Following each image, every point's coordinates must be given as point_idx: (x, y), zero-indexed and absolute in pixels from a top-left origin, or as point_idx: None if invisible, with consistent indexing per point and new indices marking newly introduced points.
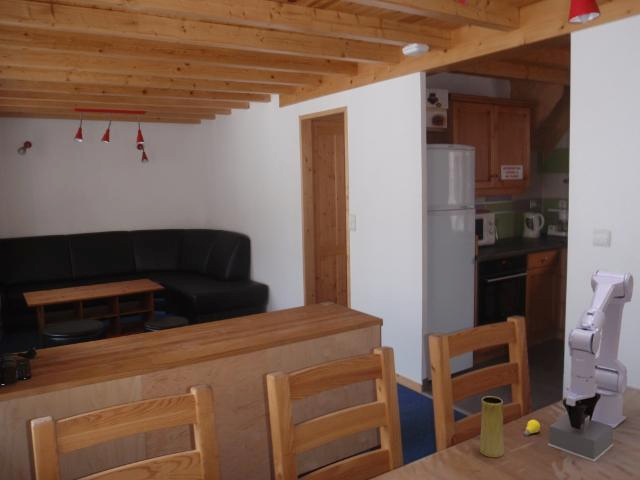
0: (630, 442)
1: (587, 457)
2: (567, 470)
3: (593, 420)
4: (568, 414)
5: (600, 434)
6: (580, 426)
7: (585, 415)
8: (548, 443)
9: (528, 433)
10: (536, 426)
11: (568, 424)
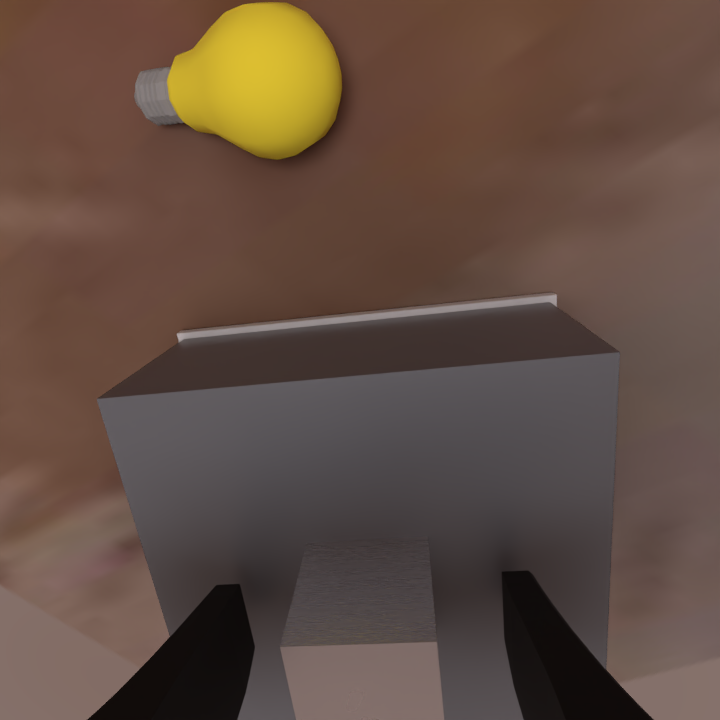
0: (689, 646)
1: None
2: (29, 565)
3: (606, 606)
4: (100, 711)
5: None
6: (244, 675)
7: None
8: (181, 334)
9: (159, 121)
10: (239, 141)
11: (301, 502)
